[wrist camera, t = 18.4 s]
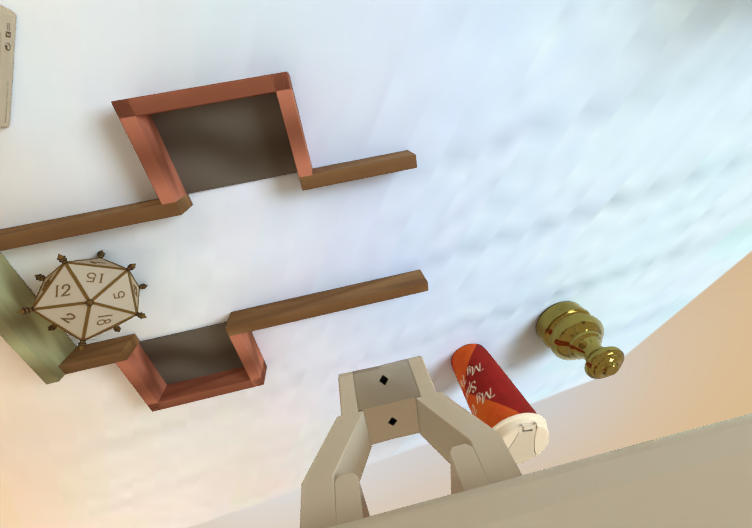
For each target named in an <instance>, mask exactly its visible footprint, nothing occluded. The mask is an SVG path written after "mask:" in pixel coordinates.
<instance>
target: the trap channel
mask: <svg viewBox="0 0 752 528" xmlns="http://www.w3.org/2000/svg"><path fill="white" fill-rule="evenodd" d="M111 103H112V105H113V107H114V109H115V111H116V113H117V115H118V117H119V119H120V121H121V123H122V125H123V127H124V129H125V131H126V133H127V135H128V137H129V139H130V141H131V143H132V145H133V147H134V149H135V151H136V153H137V155H138V157H139V159H140V161H141V163H142V165H143V167H144V169H145V171H146V173H147V175H148V177H149V179H150V181H151V183H152V185H153V188H154V190H155V192H156V194H157V196H158V198H159V199H154V200H149V201H144V202H139V203H134V204H129V205H124V206H119V207H113V208H108V209H103V210H98V211H93V212H88V213H83V214H77V215H72V216H67V217H62V218H57V219H52V220H47V221H42V222H36V223H31V224H26V225H21V226H16V227H11V228H6V229H1V230H0V251H2V250H7V249H12V248H17V247H22V246H27V245H32V244H37V243H42V242H47V241H52V240H57V239H62V238H67V237H72V236H77V235H82V234H87V233H92V232H97V231H102V230H107V229H112V228H117V227H122V226H127V225H132V224H137V223H142V222H147V221H152V220H157V219H162V218H167V217H172V216H177V215H182V214H183V213H184V212H185V211H187V210H188V209H189V208H190V207H191V206H192V205H193V204H192V202H191V200H190V197H189V195H188V193H193V192H199V191H204V190H209V189H214V188H219V187H224V186H229V185H234V184H240V183H245V182H250V181H255V180H260V179H265V178H270V177H275V176H281V175H286V174H291V173H296V172H298V175H299V178H300V182H301V186H302V190H308V189H313V188H318V187H323V186H328V185H333V184H338V183H343V182H348V181H353V180H358V179H363V178H368V177H373V176H378V175H383V174H388V173H393V172H398V171H403V170H408V169H413V168H417V162H416V155H415V154H414V153H412V152H410V151H408V150H406V151H401V152H396V153H390V154H385V155H380V156H375V157H370V158H365V159H360V160H355V161H349V162H344V163H339V164H334V165H329V166H324V167H319V168H313V169H312V165H311V161H310V157H309V153H308V149H307V145H306V141H305V136H304V132H303V128H302V124H301V120H300V116H299V112H298V108H297V104H296V100H295V96H294V92H293V88H292V84H291V80H290V76H289V74H288V73H287V72H282V73H276V74H270V75H264V76H258V77H253V78H247V79H241V80H235V81H229V82H223V83H217V84H211V85H206V86H200V87H194V88H188V89H182V90H176V91H170V92H165V93H159V94H153V95H147V96H141V97H135V98H129V99H124V100H118V101H112V102H111ZM424 291H428V282H427V280H426V279H425V277H424V275H423V274H422V272H421V270H416V271H412V272H407V273H403V274H398V275H394V276H389V277H385V278H381V279H376V280H372V281H367V282H363V283H358V284H354V285H350V286H345V287H341V288H336V289H332V290H327V291H323V292H318V293H314V294H310V295H305V296H301V297H296V298H292V299H287V300H283V301H278V302H274V303H270V304H265V305H261V306H256V307H252V308H247V309H243V310H238V311H234V312H231V314H230V317H229V319H228V322H224V323H220V324H216V325H211V326H207V327H202V328H198V329H194V330H189V331H185V332H180V333H176V334H172V335H167V336H163V337H158V338H154V339H150V340H145V341H141V342H140V341H139V339H138V338H137V336H136V335H135V334H132V335H127V336H123V337H118V338H114V339H110V340H105V341H101V342H96V343H92V344H87V345H85V346H86V347H84V348H83V349H82V350H81V351H80V349H79V347H76V346H75V344H74V343H73V342H72V341H71V339H70V338H69V337H68V336H67V334H66V333H65V332H64V331H63V330H62V329H60V328H58V327H57V328H56V329H55V330H54V331H48V327H49V326H50V325H52V323H50V322H49V321H47V320H46V319H44V318H42V317H41V316H39V315H38V314H36V313H35V312H30V313H29V314H28V313H26V314H25V315H24V314H21V313H17V312H18V311H20V310H21V309H22V308H26V307H28V308H31V307H32V306H33V304H34V301H35V299H36V296H35V295H34V294H33V292H32V291H31V290H30V289H29V287H28V286H27V285H26V284H25V282H24V281H23V280H22V279H21V277H20V276H19V275H18V274H17V272H16V271H15V270H14V269H13V268H12V266H11V265H10V264H9V263H8V261H7V260H6V259H5V258H4V256H3V255H2V254H1V253H0V335H1V336H2V337H3V338H4V340H5V341H6V342H7V343H8V344H9V345H10V346H11V347H12V348H13V349H14V350H15V351H16V352H17V353H18V354H19V356H20V357H21V358H22V359H23V360H24V361H25V362H26V363H27V364H28V365H29V366H30V367H31V368H32V369H33V370H34V372H35V373H36V374H37V375H38V376H39V377H40V378H41V379H42V380H43V381H44V382H45V383H46V384H50V383H54V382H59V381H60V379H61V378H62V377H63V376H64V375H65V374H69V373H73V372H77V371H82V370H86V369H90V368H95V367H99V366H103V365H108V364H112V363H116V364H117V365H118V367H119V368H120V369H121V371H122V372H123V373H124V375H125V376H126V377H127V379H128V380H129V381H130V383H131V384H132V385H133V387H134V388H135V389H136V391H137V392H138V393H139V395H140V396H141V397H142V399H143V400H144V401H145V403H146V404H147V405H148V406H149V408H150V409H151V410H152V412H153V411H157V410H161V409H165V408H169V407H173V406H178V405H182V404H186V403H190V402H194V401H198V400H202V399H206V398H210V397H214V396H218V395H223V394H227V393H231V392H235V391H239V390H243V389H247V388H251V387H255V386H259V385H264V380H265V374H266V369H267V366H266V364H265V361H264V359H263V357H262V355H261V352H260V350H259V348H258V346H257V343H256V341H255V339H254V337H253V334H252V332H251V331H255V330H259V329H264V328H268V327H272V326H277V325H281V324H285V323H290V322H294V321H298V320H303V319H307V318H311V317H316V316H320V315H324V314H329V313H333V312H337V311H342V310H346V309H350V308H355V307H359V306H363V305H368V304H372V303H376V302H381V301H385V300H389V299H394V298H398V297H402V296H407V295H411V294H415V293H420V292H424Z"/></svg>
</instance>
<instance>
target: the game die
mask: <svg viewBox="0 0 752 528" xmlns="http://www.w3.org/2000/svg"><path fill="white" fill-rule="evenodd" d="M104 254H105V253H104V252H103V251H100V252H98V258H92V259H84V260H76V261H67V258H65V256H63V255H60V254H58V258H57V259H58V260H59V262H62V264H61V265H60V266H59V267H58V268H57V269H55V270H54V271H53V272H52V273H51V274H50V275H48V276H47V277H45V276H44V275H41V274H39V275H35V277H36V280H39V281H41V280H42V281H43V283H42V285H41V287H40V290H39V292H38V294H37V297H36V299H35V301H34V304H33V306H32V307H31V308H28V307H26V308H22V309H21V310H20V311H18V312H17V313H21V314H24V315H25V314H26V313H28V314H29V313H30V312H35V313H36V314H38V315H39V316H41V317H42V318H44V319H46V320H47V321H49V322H50V323H52V325H50V326H49V327H48V331H54V330H55V329H56V328H57V327H58V328H60V329H62V330H63V331H65V332H67V333H69V334H70V335H72V336H74V337H75V338H77V339H79V340H80V343H78V344H79V345H78V346H77V347H79V349H80V351H81V350H82V349H83V348H84V347H86V346H85V345H86V342H85V341H86V340H88V339H90V338H92V337H94V336H97V335H99V334H101V333H103V332H105V331H108V330H110V329H112V328H114V330H115V332H116V331H117V332H120V329H121V328H120V327H119V326H118V325H120V324H122V323H123V322H125V321H127V320H129V319H131V318H133V317H134V316H137V317H138V318H141V319H142V318H147V317H146V316H145V313H142V312H141V313H139V312H138V304H139V290H140V289H145V288H146V287H147V286H148V285H145V284H141V285H140V286H138V284H137V282H136V281H135V279H134V277H133V276H132V274H131V272H130V270H133V269H134V268H135V265H136V264H130V265H128V267H127V268H124V267H122V266H120V265H117V264H115V263H112V262H110V261H108V260H105V259H103V257H104Z"/></svg>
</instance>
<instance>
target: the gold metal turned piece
mask: <svg viewBox="0 0 752 528" xmlns="http://www.w3.org/2000/svg"><path fill="white" fill-rule="evenodd" d="M536 332H537V335H538V336H539V337H540V338H541V340H542V341H543V342H544V343H545V345H546V346H548V347H549V348H551V350H552V351H553V353H554V354H555V355H556V356H557V357H559V358H561V359H564V360H576V359H585V360H586V364H585V372H586V374H587V375H588V376H589V377H591V378H594V379H601V378H605V377H608V376H610V375H613V374H615V373H616V372H617V371H618V370H619V368H620V367H621V365H622V363H623V361H624V353H623V352H622V351H621V350H620V349H619V348H617V347H602V346H601V343H602V338H603V335H604V328H603V325H602V323H601V322H600V320H598V319H597V318H596V317H594V316H592V315H590V313H589V312H588V311H587V310H585V309H583V308H582V307H581V306H580V305H578V304H577V303H575V302H571V301H565V302H560V303H557V304H555V305H553V306H551V307H550V308H548V309H547V310H546V311H545V312H544V313H543V314H542V315H541V317H540V318H539V320H538V322H537V326H536Z"/></svg>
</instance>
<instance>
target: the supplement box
mask: <svg viewBox="0 0 752 528" xmlns="http://www.w3.org/2000/svg"><path fill="white" fill-rule="evenodd" d="M15 31H16V14H15V13H14V12H13V11H11V10H9V9H7V8H5V7H3V6H1V5H0V128H3V127H9V125H10V111H11V95H12V81H13V64H14V47H15Z"/></svg>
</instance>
